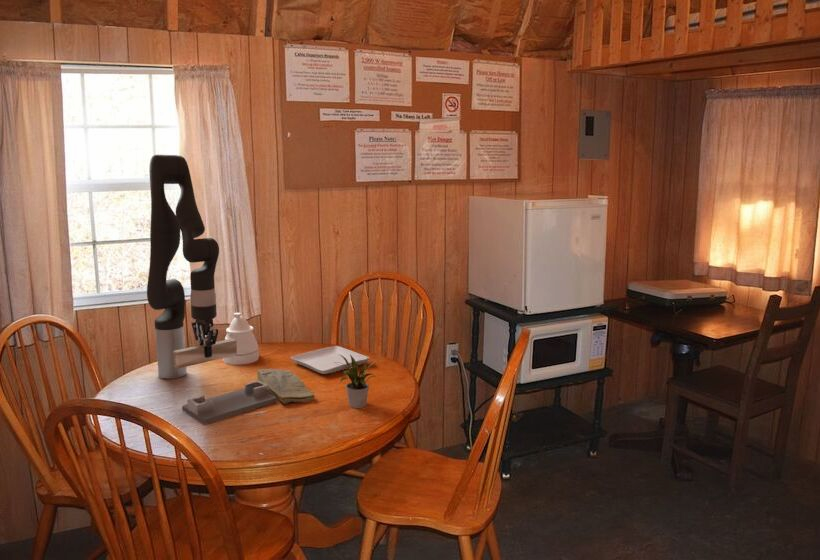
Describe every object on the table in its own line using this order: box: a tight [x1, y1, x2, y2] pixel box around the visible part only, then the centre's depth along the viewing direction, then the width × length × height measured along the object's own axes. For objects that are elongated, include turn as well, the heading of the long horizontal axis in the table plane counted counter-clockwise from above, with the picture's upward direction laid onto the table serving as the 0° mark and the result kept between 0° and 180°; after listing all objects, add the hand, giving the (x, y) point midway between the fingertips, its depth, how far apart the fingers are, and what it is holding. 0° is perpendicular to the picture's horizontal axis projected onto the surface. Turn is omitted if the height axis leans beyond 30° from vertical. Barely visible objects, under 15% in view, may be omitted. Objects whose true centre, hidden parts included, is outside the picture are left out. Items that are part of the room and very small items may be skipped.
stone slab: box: [256, 368, 315, 405], centre depth 217 cm, size 12×4×30 cm
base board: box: [181, 387, 277, 425], centre depth 202 cm, size 14×24×2 cm, turn 134°
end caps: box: [187, 379, 270, 415], centre depth 202 cm, size 6×24×3 cm, turn 134°
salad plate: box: [290, 345, 370, 375], centre depth 241 cm, size 21×21×3 cm
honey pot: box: [222, 312, 260, 366], centre depth 245 cm, size 13×13×18 cm
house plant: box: [333, 354, 379, 409], centre depth 202 cm, size 14×14×16 cm
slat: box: [173, 339, 237, 368], centre depth 209 cm, size 2×20×5 cm, turn 134°
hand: (206, 355), depth 209 cm, fingers closed on slat, 2 cm apart
